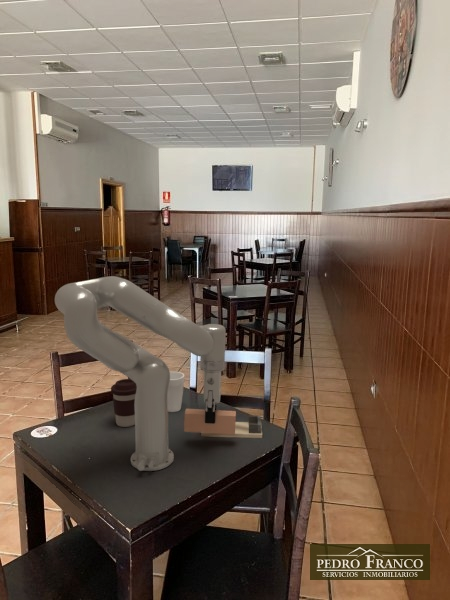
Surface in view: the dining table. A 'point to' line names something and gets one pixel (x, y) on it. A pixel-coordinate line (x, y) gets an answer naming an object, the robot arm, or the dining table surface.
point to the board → (243, 429)
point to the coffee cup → (124, 402)
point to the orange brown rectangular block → (196, 423)
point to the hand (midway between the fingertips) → (210, 419)
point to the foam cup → (175, 391)
